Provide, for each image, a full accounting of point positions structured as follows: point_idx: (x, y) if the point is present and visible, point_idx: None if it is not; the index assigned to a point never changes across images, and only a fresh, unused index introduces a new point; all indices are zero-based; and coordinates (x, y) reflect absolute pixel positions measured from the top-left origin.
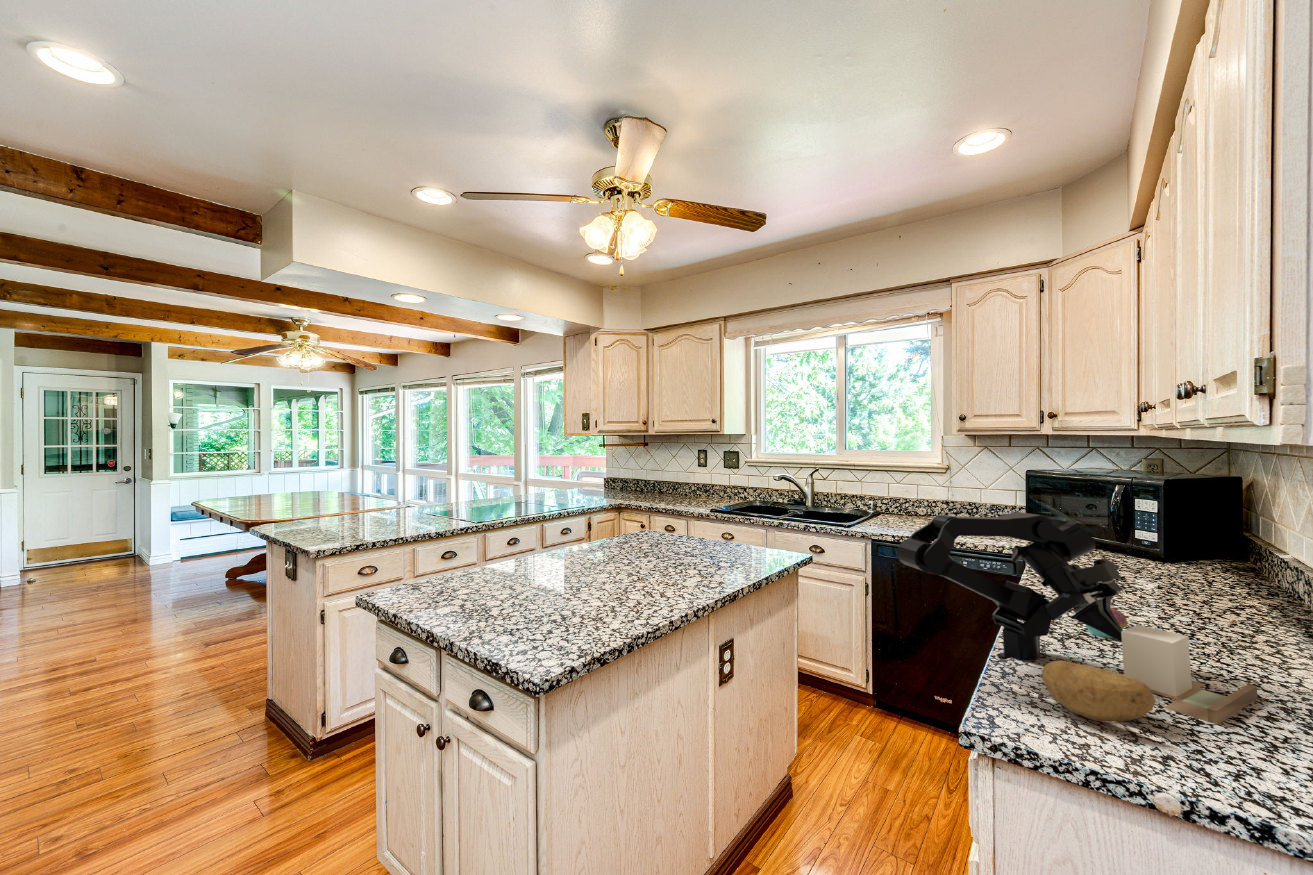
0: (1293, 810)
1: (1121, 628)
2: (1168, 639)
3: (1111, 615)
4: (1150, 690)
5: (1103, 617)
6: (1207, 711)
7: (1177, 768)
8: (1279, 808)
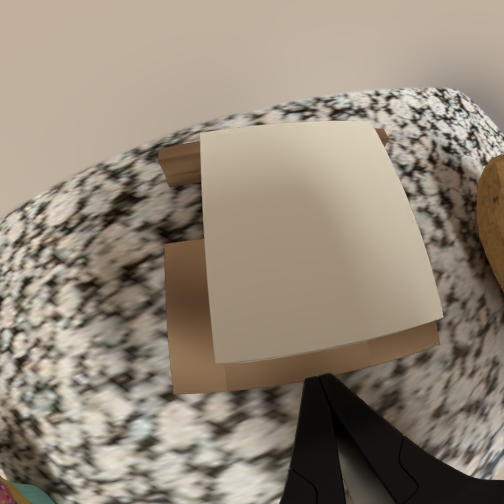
0: (443, 91)
1: (300, 416)
2: (341, 142)
3: (322, 494)
4: (498, 158)
5: (436, 460)
6: (386, 142)
7: (489, 151)
8: (451, 96)
